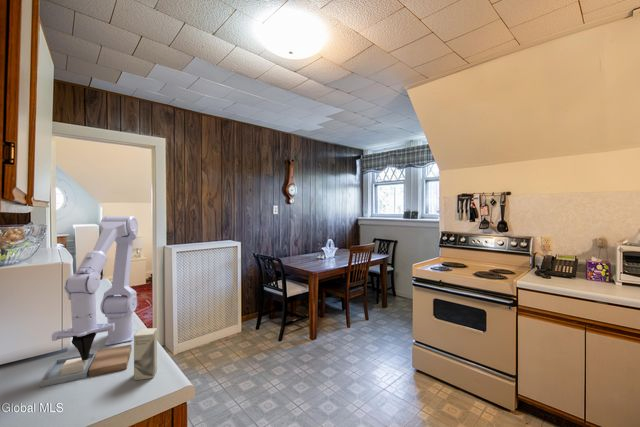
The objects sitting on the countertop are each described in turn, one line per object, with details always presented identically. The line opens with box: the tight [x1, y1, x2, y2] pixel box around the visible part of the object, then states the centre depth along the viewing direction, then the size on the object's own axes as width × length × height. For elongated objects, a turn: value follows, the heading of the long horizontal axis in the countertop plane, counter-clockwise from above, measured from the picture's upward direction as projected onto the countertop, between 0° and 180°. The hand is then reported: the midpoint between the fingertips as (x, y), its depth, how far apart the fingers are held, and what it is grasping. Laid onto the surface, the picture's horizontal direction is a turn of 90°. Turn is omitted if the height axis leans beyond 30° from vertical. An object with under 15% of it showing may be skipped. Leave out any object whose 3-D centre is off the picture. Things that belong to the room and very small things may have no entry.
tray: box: [39, 352, 97, 388], centre depth 87 cm, size 12×10×2 cm
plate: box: [88, 344, 132, 378], centre depth 92 cm, size 12×9×2 cm
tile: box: [61, 358, 88, 376], centre depth 88 cm, size 5×5×2 cm
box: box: [133, 327, 158, 381], centre depth 85 cm, size 5×4×13 cm
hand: (85, 358), depth 89 cm, fingers closed
